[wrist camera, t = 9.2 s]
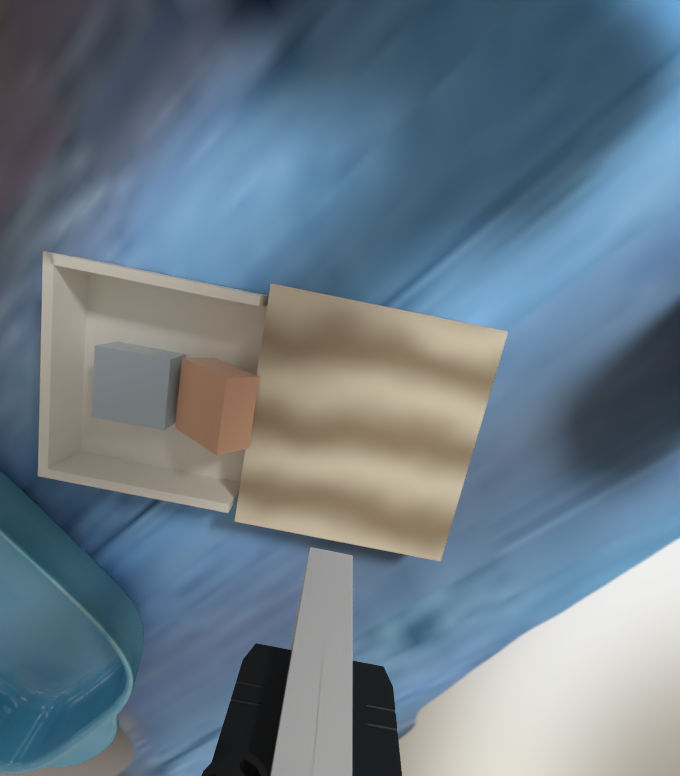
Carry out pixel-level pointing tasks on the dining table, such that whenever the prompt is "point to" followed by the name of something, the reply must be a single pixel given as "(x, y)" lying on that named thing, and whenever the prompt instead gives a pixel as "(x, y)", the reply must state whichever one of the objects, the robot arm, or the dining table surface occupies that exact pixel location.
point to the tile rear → (136, 384)
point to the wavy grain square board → (364, 421)
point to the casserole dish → (58, 643)
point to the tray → (144, 328)
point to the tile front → (216, 404)
